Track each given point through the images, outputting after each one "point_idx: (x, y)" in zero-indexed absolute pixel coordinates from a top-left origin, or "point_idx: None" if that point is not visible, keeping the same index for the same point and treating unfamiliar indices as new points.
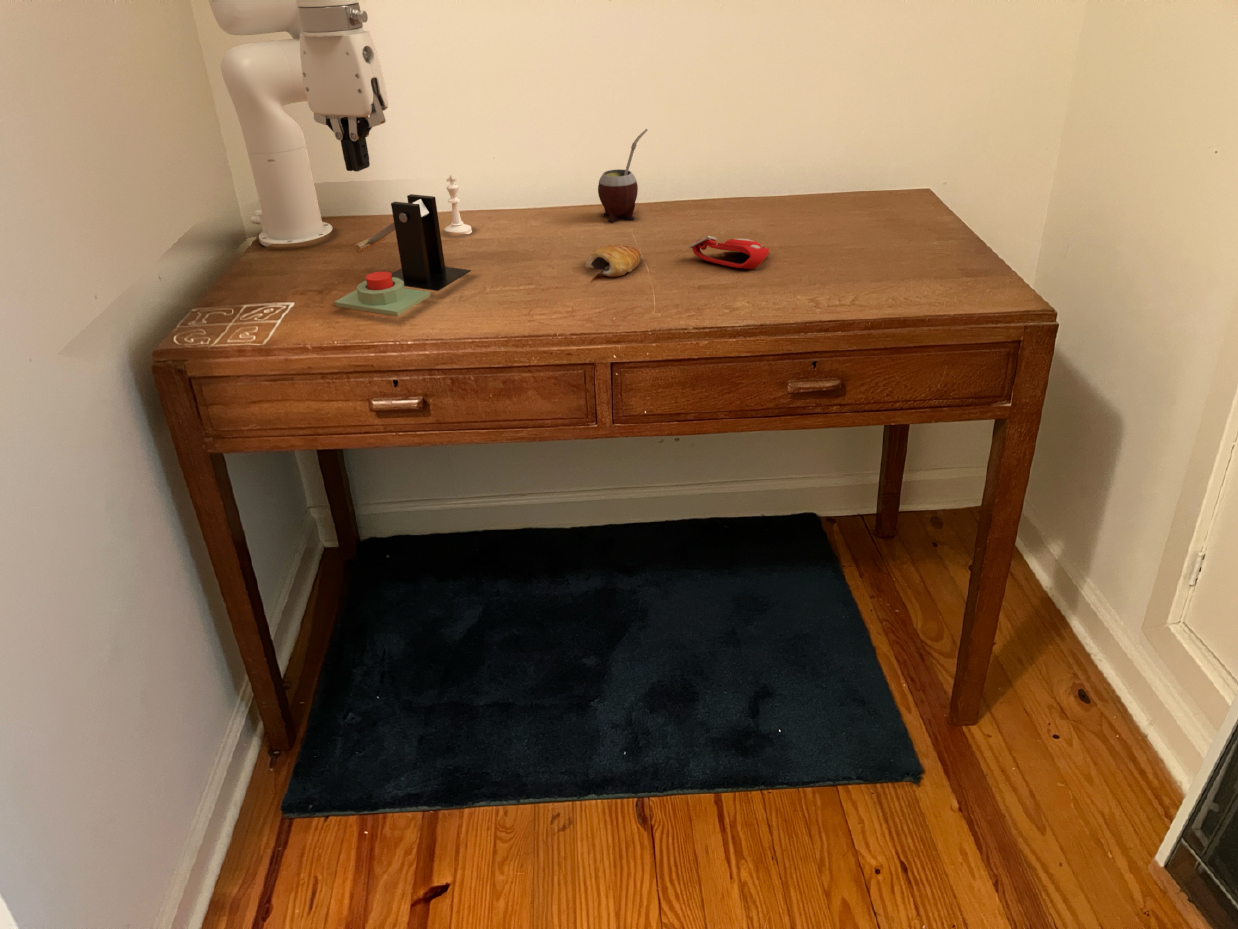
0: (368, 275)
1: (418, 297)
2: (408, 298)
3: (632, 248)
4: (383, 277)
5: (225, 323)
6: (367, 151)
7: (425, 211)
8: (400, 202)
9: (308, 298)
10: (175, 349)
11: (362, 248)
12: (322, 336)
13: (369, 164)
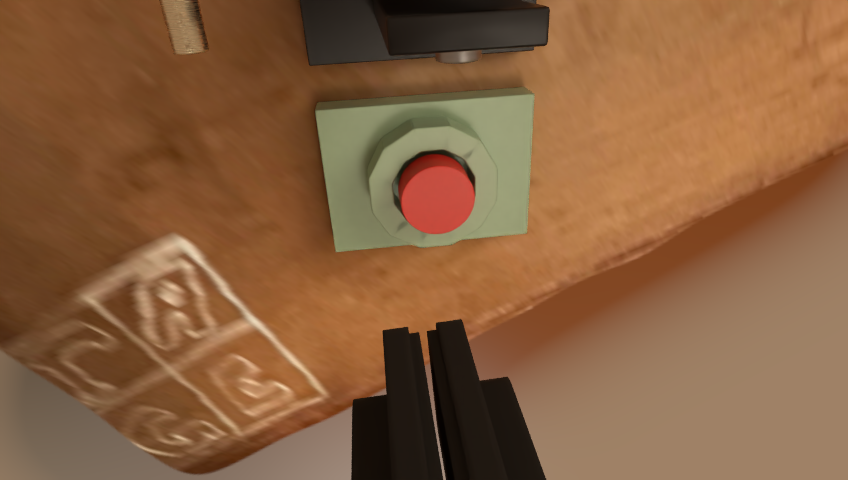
0: (408, 212)
1: (527, 142)
2: (505, 158)
3: None
4: (461, 206)
5: (155, 373)
6: (523, 423)
7: None
8: (430, 22)
9: (185, 201)
10: (194, 467)
11: (207, 42)
12: None
13: (462, 322)
